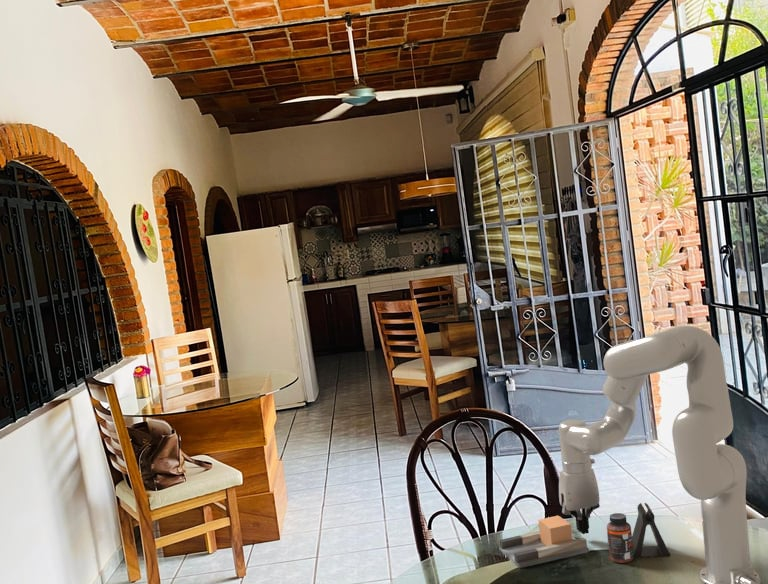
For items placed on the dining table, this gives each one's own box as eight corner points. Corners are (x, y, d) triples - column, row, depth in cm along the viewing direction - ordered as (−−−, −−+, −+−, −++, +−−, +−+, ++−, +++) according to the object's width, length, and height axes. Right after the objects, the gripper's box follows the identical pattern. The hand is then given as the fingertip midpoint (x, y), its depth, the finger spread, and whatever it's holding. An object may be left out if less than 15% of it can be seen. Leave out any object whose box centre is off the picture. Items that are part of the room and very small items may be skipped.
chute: (589, 551, 194) (588, 540, 194) (519, 568, 189) (518, 556, 189) (565, 534, 206) (564, 524, 206) (499, 549, 202) (498, 538, 202)
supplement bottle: (635, 563, 184) (631, 519, 184) (610, 564, 185) (606, 520, 185) (632, 553, 190) (628, 510, 189) (608, 554, 191) (604, 511, 191)
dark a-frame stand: (633, 558, 187) (629, 512, 187) (629, 548, 193) (625, 503, 193) (670, 556, 186) (666, 510, 185) (664, 546, 192) (660, 501, 191)
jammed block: (572, 546, 196) (570, 524, 196) (552, 550, 195) (550, 528, 194) (560, 536, 203) (558, 515, 202) (540, 541, 201) (538, 519, 201)
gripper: (594, 457, 205) (600, 521, 206) (545, 467, 201) (551, 532, 202) (608, 464, 197) (615, 531, 199) (558, 475, 194) (565, 542, 195)
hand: (583, 531), depth 201 cm, fingers closed
